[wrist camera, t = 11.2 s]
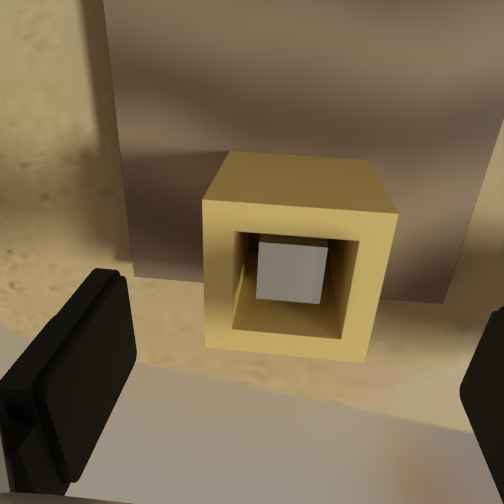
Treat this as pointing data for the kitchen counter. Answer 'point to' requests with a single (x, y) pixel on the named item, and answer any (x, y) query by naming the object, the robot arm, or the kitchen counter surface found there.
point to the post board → (307, 122)
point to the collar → (295, 224)
